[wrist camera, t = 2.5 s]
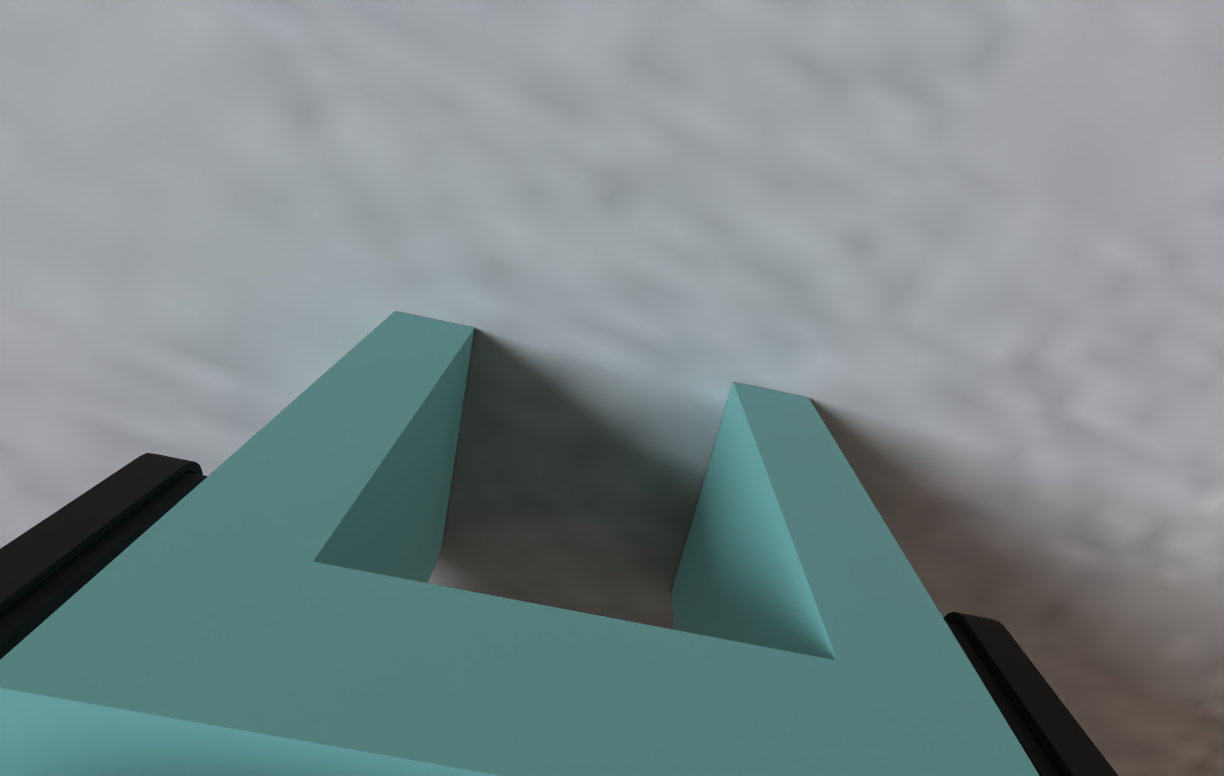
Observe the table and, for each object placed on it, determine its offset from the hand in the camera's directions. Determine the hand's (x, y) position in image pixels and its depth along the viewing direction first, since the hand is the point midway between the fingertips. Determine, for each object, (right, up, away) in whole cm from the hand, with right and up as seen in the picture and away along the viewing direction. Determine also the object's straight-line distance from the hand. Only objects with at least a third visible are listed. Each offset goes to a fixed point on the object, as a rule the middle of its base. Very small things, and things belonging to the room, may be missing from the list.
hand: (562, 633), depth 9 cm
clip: (0, +2, +2) cm, 3 cm away
